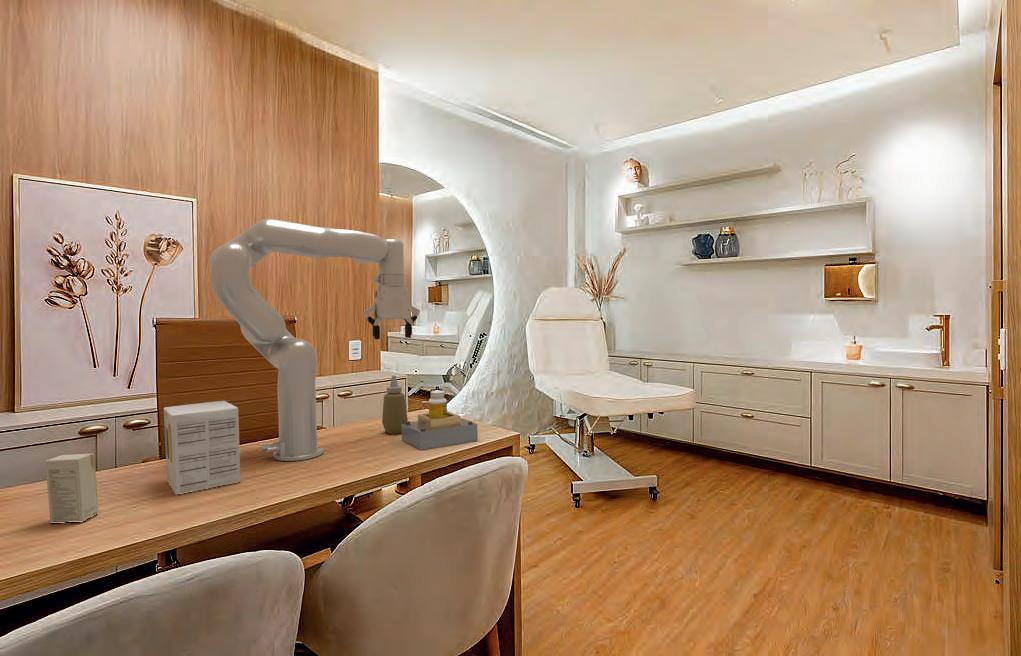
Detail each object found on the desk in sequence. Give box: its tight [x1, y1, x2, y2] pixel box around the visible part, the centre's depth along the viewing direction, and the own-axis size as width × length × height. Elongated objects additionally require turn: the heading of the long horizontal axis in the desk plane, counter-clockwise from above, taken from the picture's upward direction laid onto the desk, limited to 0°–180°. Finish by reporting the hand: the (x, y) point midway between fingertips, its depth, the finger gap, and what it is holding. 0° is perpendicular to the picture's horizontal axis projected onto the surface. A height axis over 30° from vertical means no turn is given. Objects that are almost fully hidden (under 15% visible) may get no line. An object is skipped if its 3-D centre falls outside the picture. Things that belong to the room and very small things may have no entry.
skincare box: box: [44, 452, 100, 522], centre depth 102 cm, size 6×4×12 cm
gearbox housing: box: [401, 410, 479, 451], centre depth 159 cm, size 18×14×8 cm
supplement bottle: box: [428, 390, 448, 419], centre depth 158 cm, size 5×5×10 cm
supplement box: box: [163, 400, 241, 495], centre depth 123 cm, size 13×13×18 cm
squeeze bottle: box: [381, 375, 409, 435], centre depth 170 cm, size 8×8×18 cm
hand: (392, 338), depth 161 cm, fingers open, 9 cm apart
